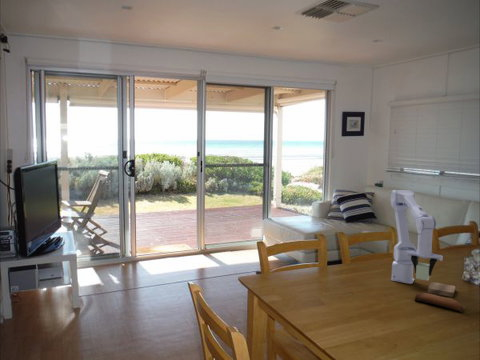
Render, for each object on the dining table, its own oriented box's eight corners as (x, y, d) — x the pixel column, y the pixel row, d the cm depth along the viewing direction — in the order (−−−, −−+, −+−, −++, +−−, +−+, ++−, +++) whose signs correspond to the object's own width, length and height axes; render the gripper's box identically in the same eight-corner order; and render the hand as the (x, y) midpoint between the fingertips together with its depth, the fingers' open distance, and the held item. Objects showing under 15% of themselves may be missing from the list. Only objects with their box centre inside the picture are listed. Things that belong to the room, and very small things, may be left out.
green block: (415, 278, 181) (416, 265, 181) (417, 275, 186) (418, 262, 185) (428, 280, 179) (428, 267, 178) (429, 277, 183) (430, 264, 182)
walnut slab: (427, 292, 184) (428, 288, 184) (431, 285, 193) (431, 281, 192) (452, 297, 179) (453, 292, 179) (455, 290, 187) (455, 286, 187)
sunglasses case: (466, 306, 168) (465, 295, 165) (462, 320, 164) (461, 308, 161) (420, 295, 180) (418, 285, 177) (415, 307, 176) (413, 297, 173)
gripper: (405, 243, 181) (403, 273, 183) (441, 248, 174) (440, 279, 175) (408, 240, 187) (407, 269, 189) (443, 244, 179) (442, 275, 181)
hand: (423, 273), depth 182 cm, fingers closed on green block, 5 cm apart
